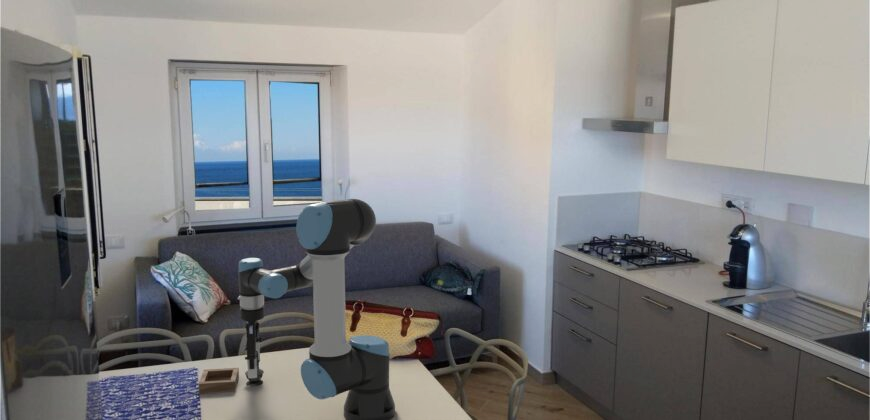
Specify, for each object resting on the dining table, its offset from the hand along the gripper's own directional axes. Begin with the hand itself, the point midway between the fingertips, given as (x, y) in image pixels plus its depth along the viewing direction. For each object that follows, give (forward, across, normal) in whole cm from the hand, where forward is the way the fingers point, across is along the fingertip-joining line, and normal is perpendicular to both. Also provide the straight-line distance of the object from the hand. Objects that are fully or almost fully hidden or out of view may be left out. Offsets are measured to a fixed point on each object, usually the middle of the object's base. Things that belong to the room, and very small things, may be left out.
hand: (254, 369), depth 215 cm
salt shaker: (+5, 0, 0) cm, 5 cm away
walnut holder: (+5, 0, -11) cm, 12 cm away
